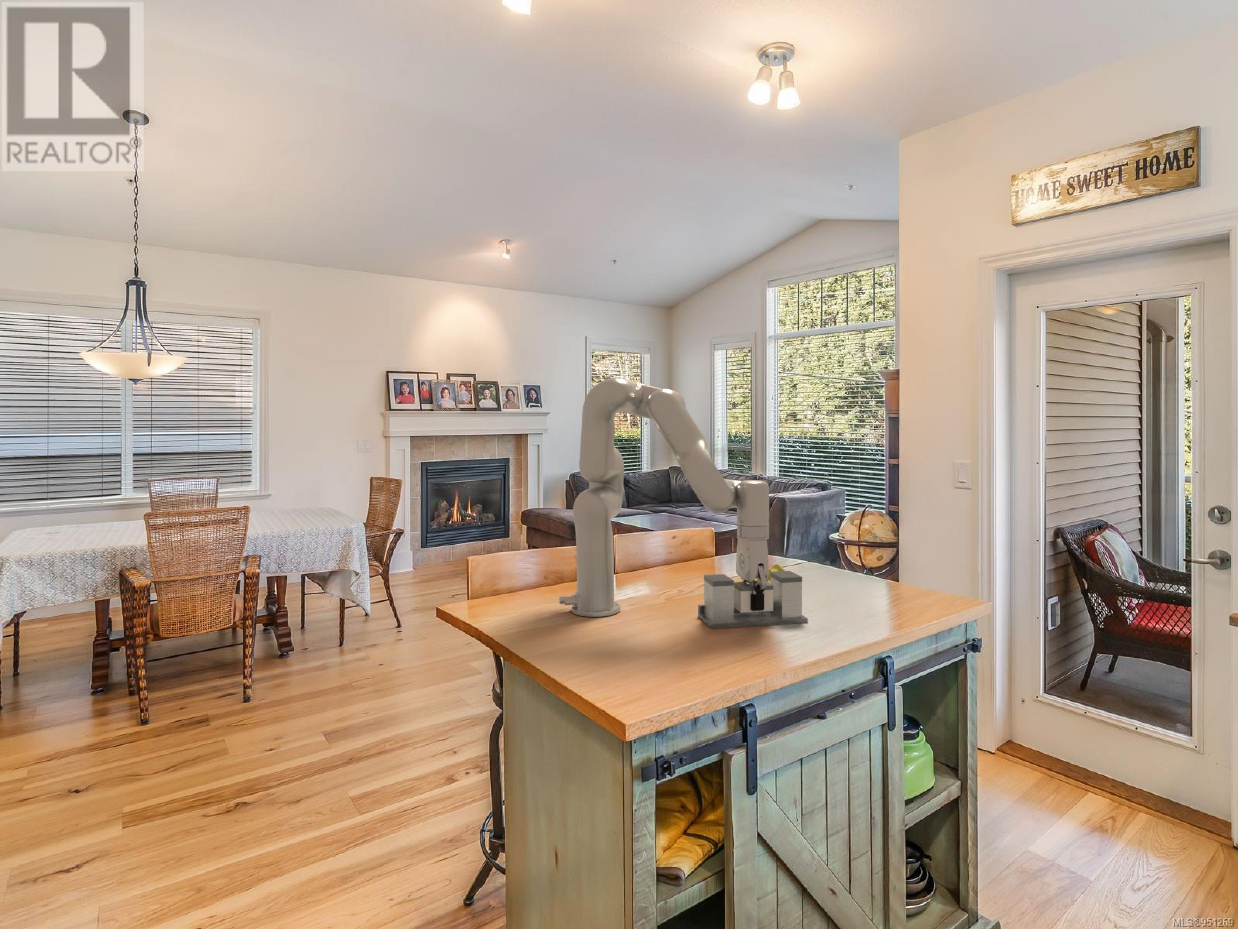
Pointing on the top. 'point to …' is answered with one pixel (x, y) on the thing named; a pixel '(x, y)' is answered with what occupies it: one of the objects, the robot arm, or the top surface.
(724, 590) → the grey fixture holder
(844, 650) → the top surface
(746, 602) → the block
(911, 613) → the top surface
